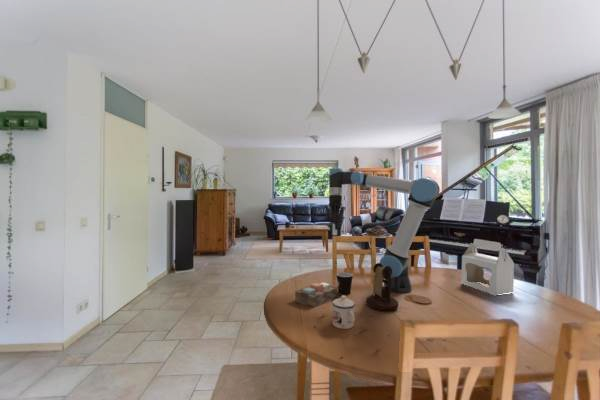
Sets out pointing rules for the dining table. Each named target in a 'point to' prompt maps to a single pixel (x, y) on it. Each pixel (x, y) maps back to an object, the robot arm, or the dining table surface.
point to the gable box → (498, 265)
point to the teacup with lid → (343, 313)
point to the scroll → (382, 289)
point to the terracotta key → (317, 286)
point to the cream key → (325, 285)
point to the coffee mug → (344, 283)
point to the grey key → (308, 290)
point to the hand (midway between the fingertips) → (334, 234)
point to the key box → (316, 296)
